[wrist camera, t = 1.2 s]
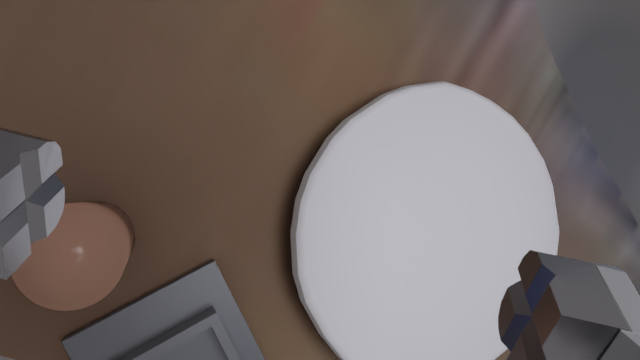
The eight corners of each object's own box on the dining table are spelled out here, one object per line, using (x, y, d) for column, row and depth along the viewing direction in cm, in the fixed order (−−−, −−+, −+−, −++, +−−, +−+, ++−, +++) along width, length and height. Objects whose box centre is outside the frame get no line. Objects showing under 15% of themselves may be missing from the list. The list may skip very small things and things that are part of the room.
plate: (448, 17, 48) (615, 224, 53) (410, 42, 54) (564, 225, 59) (233, 244, 39) (460, 468, 44) (216, 243, 45) (418, 440, 50)
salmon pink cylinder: (40, 222, 42) (-13, 234, 29) (114, 188, 44) (96, 185, 30) (76, 289, 43) (41, 331, 29) (147, 253, 44) (144, 277, 31)
